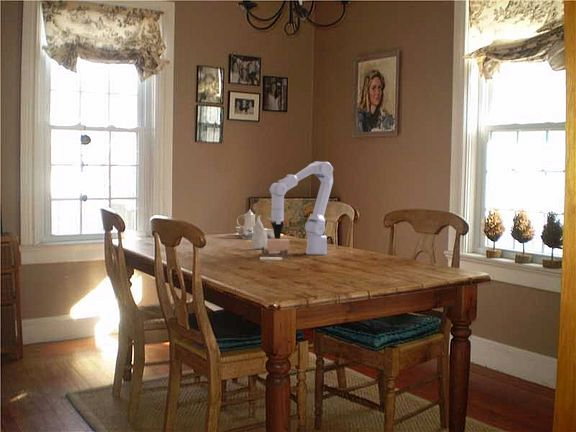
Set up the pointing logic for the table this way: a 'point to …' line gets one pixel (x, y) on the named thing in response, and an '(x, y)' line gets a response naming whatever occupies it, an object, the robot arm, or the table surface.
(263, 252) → the rack
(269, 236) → the chinaware
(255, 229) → the stone tool
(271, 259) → the fired strip
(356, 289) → the table surface
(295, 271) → the table surface
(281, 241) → the salmon pink block
